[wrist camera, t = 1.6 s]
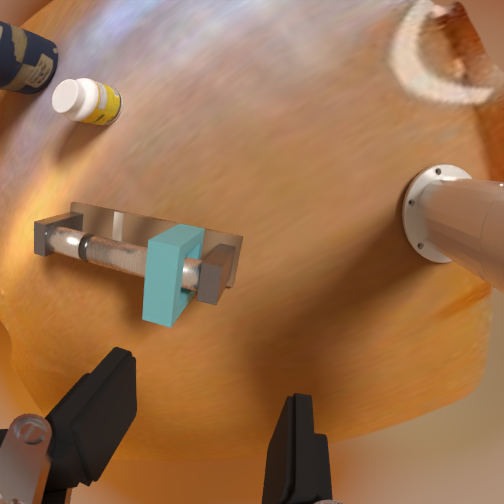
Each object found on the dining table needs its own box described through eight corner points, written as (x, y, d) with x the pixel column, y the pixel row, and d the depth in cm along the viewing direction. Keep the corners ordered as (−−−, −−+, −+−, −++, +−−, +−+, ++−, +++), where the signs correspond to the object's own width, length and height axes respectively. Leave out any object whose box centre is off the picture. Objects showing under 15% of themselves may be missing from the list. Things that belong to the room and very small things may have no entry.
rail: (237, 245, 38) (222, 267, 30) (231, 275, 40) (216, 305, 31) (76, 210, 40) (34, 221, 31) (74, 237, 41) (34, 253, 32)
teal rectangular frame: (205, 228, 35) (179, 247, 26) (195, 293, 37) (170, 327, 29) (179, 223, 35) (148, 239, 27) (171, 287, 37) (142, 319, 29)
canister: (26, 54, 34) (-49, 34, 17) (65, 33, 33) (-12, 0, 16) (21, 102, 36) (-61, 94, 19) (60, 85, 35) (-28, 64, 18)
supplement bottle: (89, 127, 37) (44, 121, 27) (94, 90, 35) (51, 76, 26) (121, 125, 36) (78, 116, 27) (126, 86, 35) (86, 69, 25)
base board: (243, 236, 38) (241, 238, 37) (233, 285, 40) (232, 287, 39) (74, 202, 39) (70, 202, 39) (72, 244, 41) (68, 245, 40)
